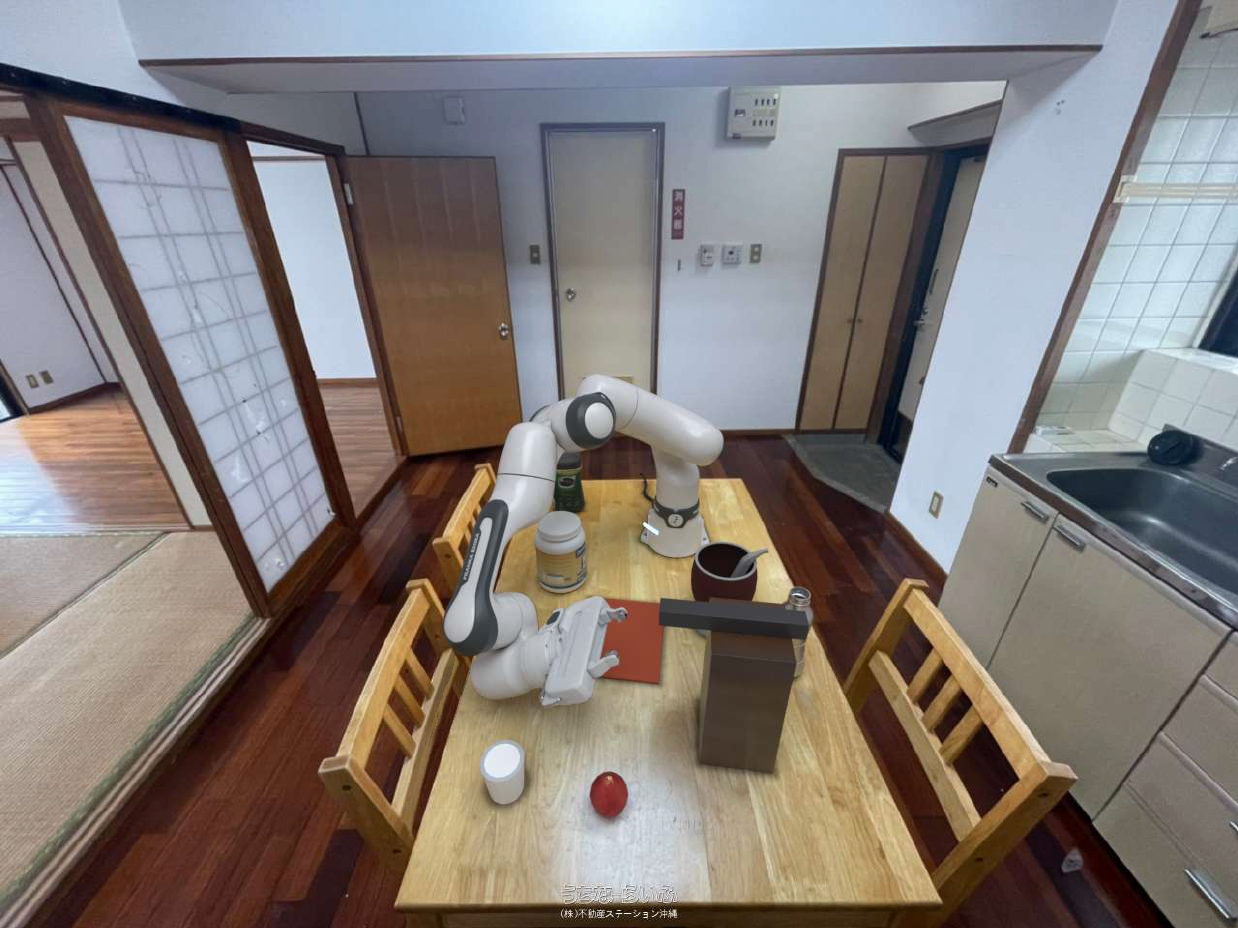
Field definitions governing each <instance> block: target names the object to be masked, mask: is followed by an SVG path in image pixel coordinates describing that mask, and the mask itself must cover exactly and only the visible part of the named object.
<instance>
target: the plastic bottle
mask: <svg viewBox="0 0 1238 928" xmlns="http://www.w3.org/2000/svg"><path fill="white" fill-rule="evenodd" d="M811 597H812V595H811V592H810V590H808V589H806V588H805V587H802V586H793V587H791V588H790V590H789V592H788V595H787V599H786V600H784V601H783V602H781V604H785V607H786V609H787V610H798V611H805V612H806V616H807V620H808V624H809V627H808V632H807V636H806V640H800V639H792V642H793V647H794V652H795V657H796V662H797V664H796V669H795V673H794V678H796V677H799V676H800V675H801V674H802V672H803V670H804V668H805V665H806V664H805V662H806V657H805V651H806V643H807V639H808V636H809V633H810V631H811V628H812V626H813V624H814V620H815V615H814V611H813V609H812V608H811V606H810V603H811Z"/></svg>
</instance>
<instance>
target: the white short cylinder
mask: <svg viewBox="0 0 1238 928" xmlns="http://www.w3.org/2000/svg"><path fill="white" fill-rule="evenodd" d="M479 770H480V773H481V776H482V778H483V780H484V783H485V786H486V788H487V791H488V793H489V796H490V798H491V799H492V801H493V802H495V803H496V804H499V805H509V804H512V803H513V802H515V801H517V800H518V799H519V797H520V796H521V795H522V793H523V791H524V788H525V752H524V749H523V747H522V746H521V745H520V744H519V743H517V741H514V740H510V739H502V740H498V741H496V742H494V743H492V744H490V745H489V746H488V747H487V748H486V749H485V750H484V752H483V754H482V756H481V757H480V763H479Z"/></svg>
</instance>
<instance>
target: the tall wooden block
mask: <svg viewBox="0 0 1238 928" xmlns="http://www.w3.org/2000/svg"><path fill="white" fill-rule="evenodd" d="M710 602H712V603H722V604H733V605H744V606H755V607H766V608H777V609H786V607H785V604H782V603H777V602H766V601H756V600H752V601H745V600H734V599H723V598H712V597H710ZM796 664H797V662H796V657H795V652H794V647H793V642H792V639H790V638H780V637H770V636H760V635H749V634H739V633H729V632H719V631H709V630H707V635H706V637H705V645H704V657H703V665H702V666H703V667H702V674H701V675H702V676H701V677H702V678H701V685H700V686H701V687H700V694H699V695H700V697H699V765H705V766H711V767H719V768H727V769H735V770H743V771H751V772H758V773H764V774H765V773H766V774H773V773H774V769H775V764H776V760H777V755H778V750H779V746H780V743H781V737H782V733H783V729H784V722H785V720H786V714H787V709H788V705H789V700H790V696H791V693H792V687H793V682H794V678H795V677H794V673H795V669H796Z"/></svg>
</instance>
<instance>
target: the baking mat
mask: <svg viewBox="0 0 1238 928" xmlns="http://www.w3.org/2000/svg"><path fill="white" fill-rule="evenodd" d="M603 598H604V599H605V601H606V602H607V603H608V605H609V606H610V608H611V609H618V608H621V607H623V608H625V609H626V611H627V612H628V614H627V619H626V621H622V622H620V623H619V622H618V621H617V619H612V621H611V622H609V623H608V625H607V630H606V634H605V639H604V644H603V648H602V653H601V658H600V660H601V659H602V658H604V657H605V655H606V652H609V651H610V652H611V651H613V650H616V651H617V652H618V654H619V655H620V660H619V665H616V666H613V667H610V669H609V670H607V671H606V672H605V673H604V674H603V675H602V676H601V677H599V678H601V679H611V680H616V681H617V680H618V681H627V682H628V681H629V682H637V683H645V684H652V685H653V684H654V685H659V684H660V674H661V661H662V650H663V639H664V627H665V626H659V608H660V602H659V603H657V602H649V601H637V600H625V599H615V598H607V597H606V598H605V597H603Z"/></svg>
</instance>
